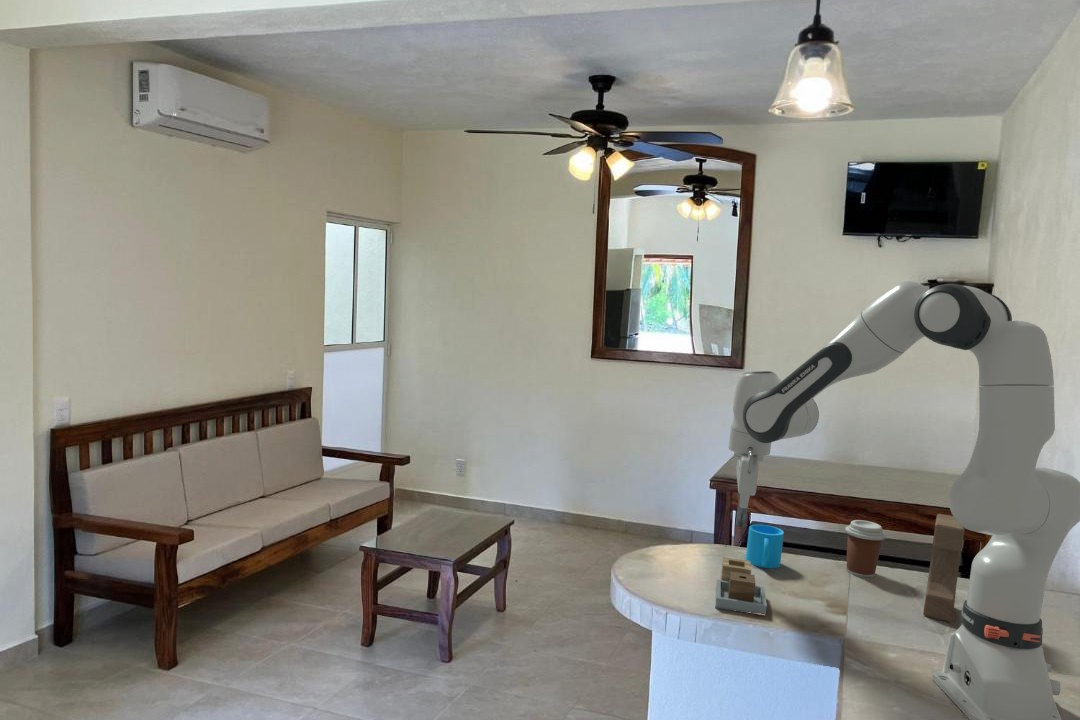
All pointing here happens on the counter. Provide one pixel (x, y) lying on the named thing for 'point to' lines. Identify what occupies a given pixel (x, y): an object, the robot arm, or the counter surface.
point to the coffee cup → (863, 547)
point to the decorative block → (944, 568)
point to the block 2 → (741, 586)
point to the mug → (764, 546)
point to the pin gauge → (741, 516)
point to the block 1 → (734, 567)
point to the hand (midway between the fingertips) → (743, 505)
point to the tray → (739, 605)
